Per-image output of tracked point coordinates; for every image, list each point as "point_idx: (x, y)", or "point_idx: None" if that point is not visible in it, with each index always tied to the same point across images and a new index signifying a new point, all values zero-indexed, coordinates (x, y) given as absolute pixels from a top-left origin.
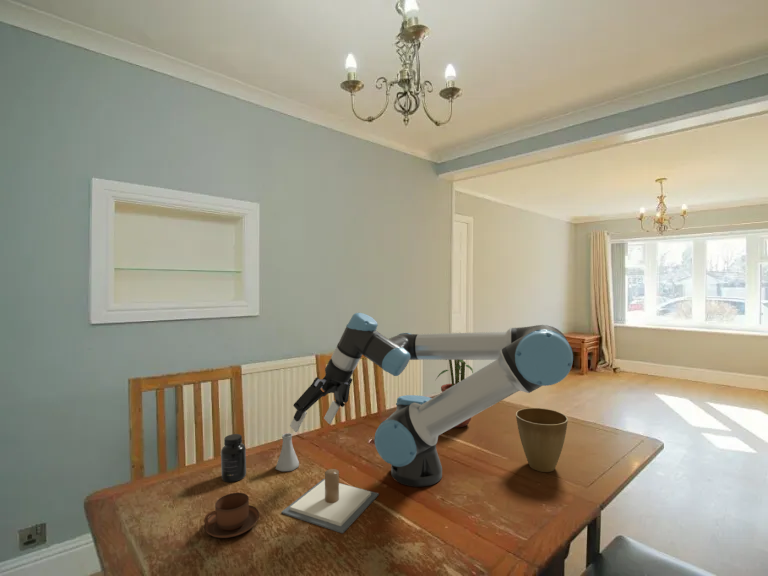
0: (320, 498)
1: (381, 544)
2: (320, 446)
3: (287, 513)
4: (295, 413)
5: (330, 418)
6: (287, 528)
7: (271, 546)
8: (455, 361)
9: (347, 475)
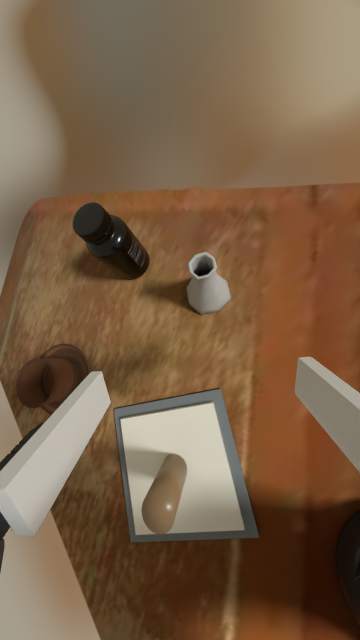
0: (164, 446)
1: (147, 626)
2: (318, 264)
3: (115, 421)
4: (6, 457)
5: (312, 407)
6: (98, 446)
7: None
8: None
9: (268, 416)
